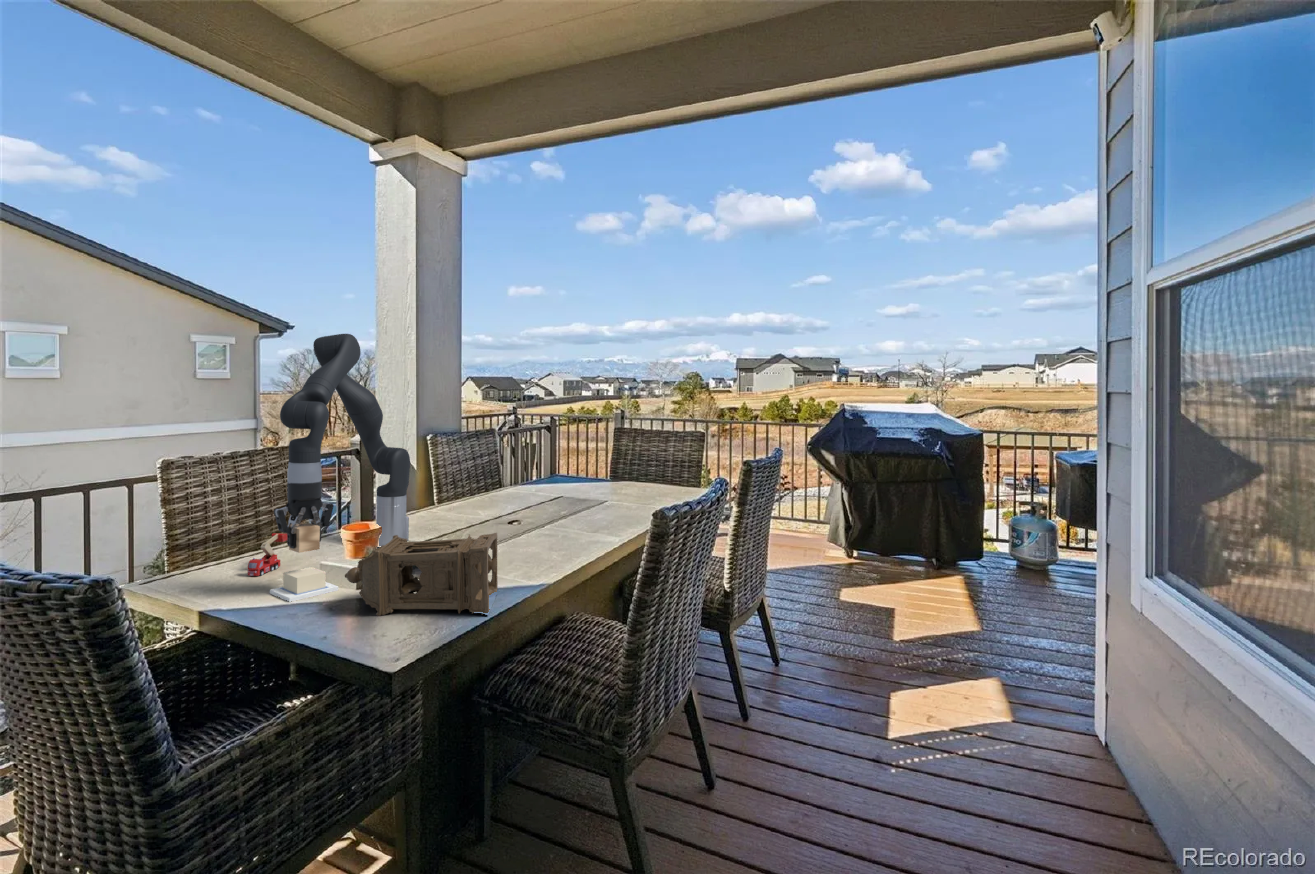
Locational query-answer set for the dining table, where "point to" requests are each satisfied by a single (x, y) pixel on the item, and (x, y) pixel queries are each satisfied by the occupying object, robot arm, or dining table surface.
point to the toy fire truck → (266, 557)
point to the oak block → (307, 538)
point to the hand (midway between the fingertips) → (304, 545)
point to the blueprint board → (302, 596)
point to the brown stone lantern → (429, 574)
